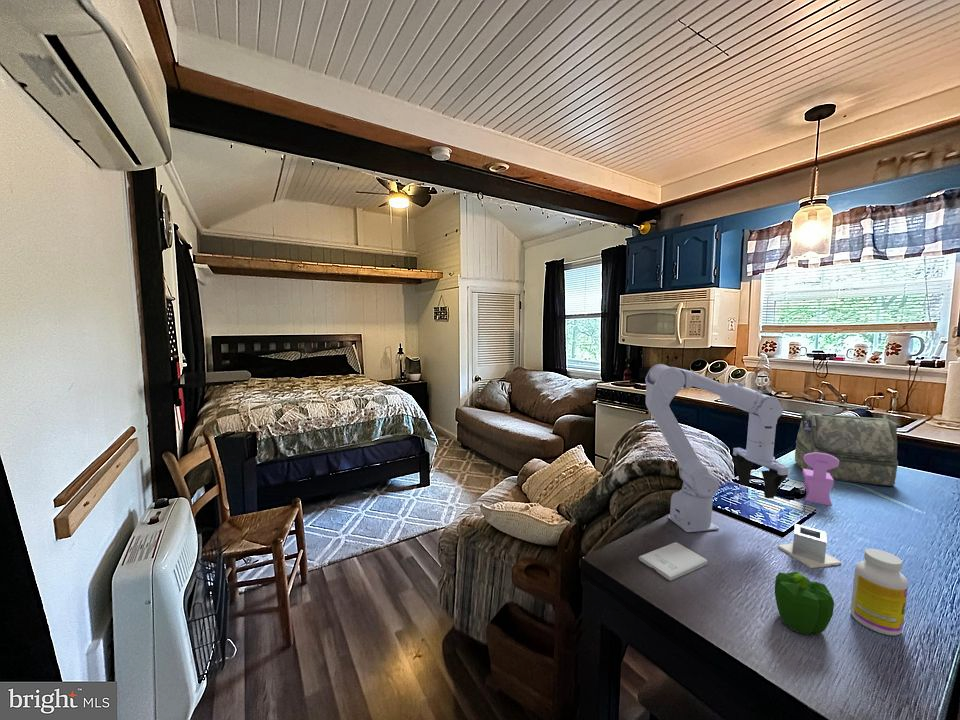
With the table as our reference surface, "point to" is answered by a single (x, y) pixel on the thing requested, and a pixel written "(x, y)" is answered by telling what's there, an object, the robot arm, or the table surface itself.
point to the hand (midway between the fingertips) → (756, 491)
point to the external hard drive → (673, 560)
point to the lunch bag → (851, 446)
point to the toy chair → (819, 477)
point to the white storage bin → (809, 543)
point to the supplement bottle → (879, 592)
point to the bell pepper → (803, 603)
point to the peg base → (810, 563)
